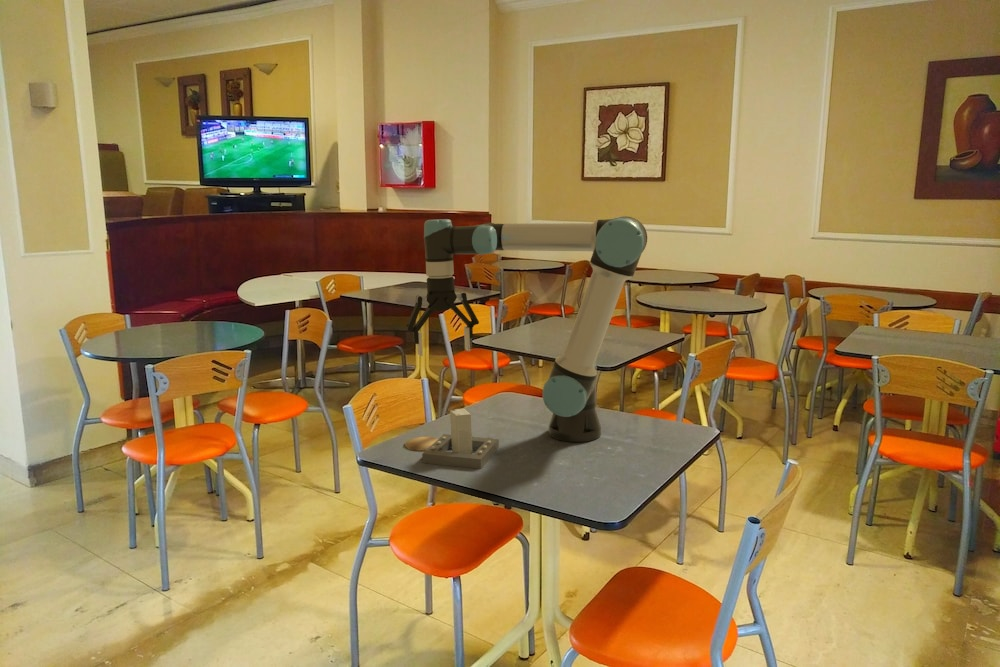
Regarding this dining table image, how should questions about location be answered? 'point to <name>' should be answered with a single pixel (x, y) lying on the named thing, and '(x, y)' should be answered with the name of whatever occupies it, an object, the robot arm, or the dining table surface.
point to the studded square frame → (476, 460)
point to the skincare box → (461, 431)
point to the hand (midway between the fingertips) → (444, 352)
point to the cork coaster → (420, 443)
